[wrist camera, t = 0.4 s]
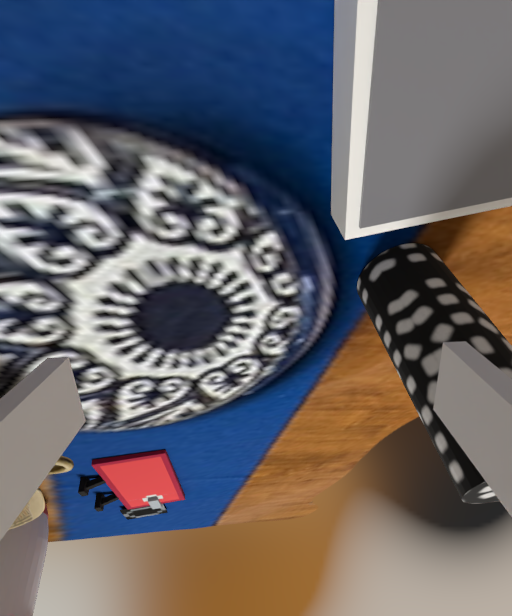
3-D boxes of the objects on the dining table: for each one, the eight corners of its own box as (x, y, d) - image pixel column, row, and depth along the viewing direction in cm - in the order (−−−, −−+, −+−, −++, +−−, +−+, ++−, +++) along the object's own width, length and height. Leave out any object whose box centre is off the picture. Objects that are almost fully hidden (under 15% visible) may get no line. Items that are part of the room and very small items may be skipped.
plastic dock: (335, -56, 18) (363, -55, 16) (602, -110, 18) (677, -119, 16) (330, 214, 30) (346, 242, 27) (494, 180, 30) (526, 205, 27)
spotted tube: (424, 299, 40) (553, 490, 26) (351, 310, 39) (444, 511, 25) (449, 237, 34) (635, 443, 20) (363, 249, 33) (494, 468, 19)
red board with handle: (119, 516, 77) (189, 503, 79) (117, 531, 75) (189, 517, 77) (67, 460, 56) (165, 444, 58) (64, 478, 54) (165, 462, 56)
